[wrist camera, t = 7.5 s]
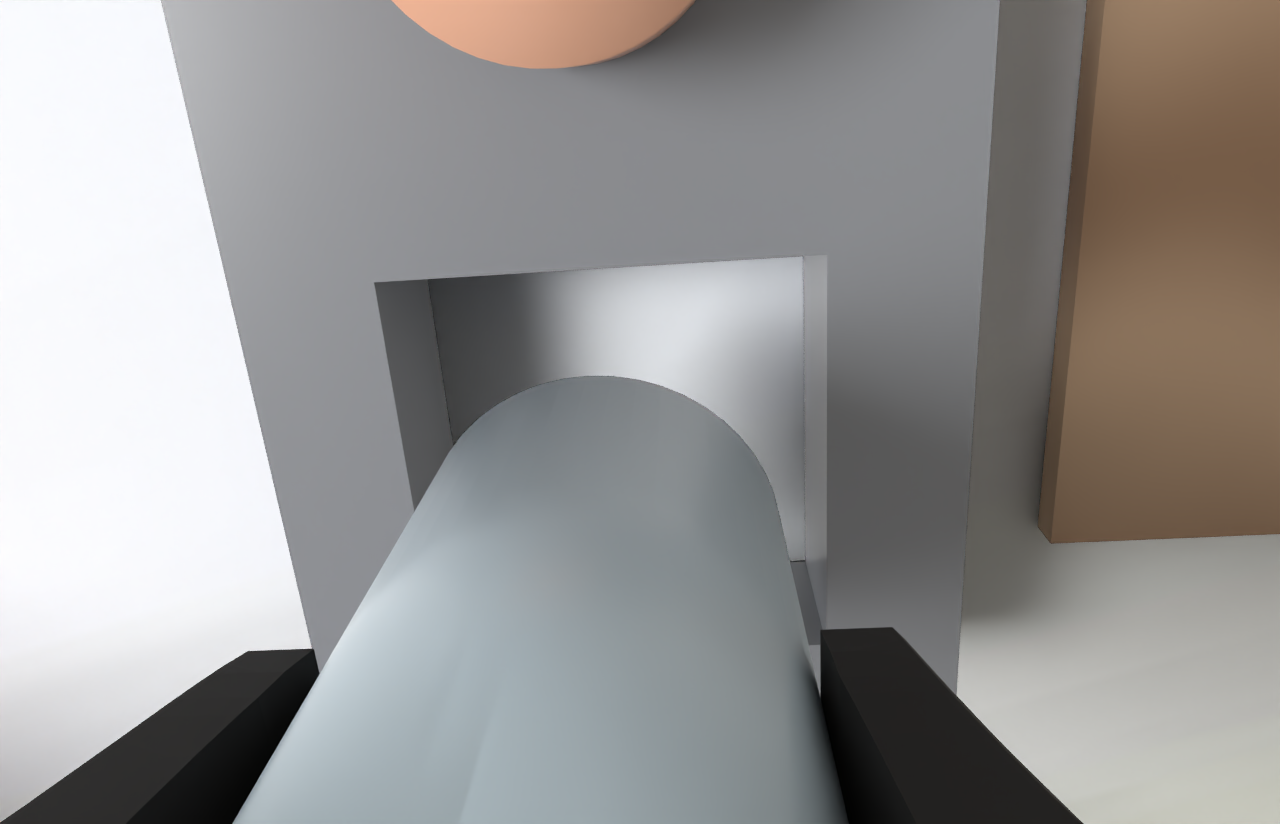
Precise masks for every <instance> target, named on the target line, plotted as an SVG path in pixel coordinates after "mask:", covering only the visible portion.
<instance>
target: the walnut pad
mask: <svg viewBox="0 0 1280 824" xmlns="http://www.w3.org/2000/svg"><path fill="white" fill-rule="evenodd" d="M1038 528H1039V529H1040V530H1041V531H1042V533H1043V534H1044V535H1045V537H1046V538H1047V539H1048V541H1049V542H1050V543H1075V542H1099V541H1123V540H1146V539H1170V538H1194V537H1218V536H1242V535H1266V534H1280V0H1087V5H1086V16H1085V27H1084V37H1083V48H1082V59H1081V69H1080V80H1079V91H1078V101H1077V112H1076V123H1075V133H1074V144H1073V155H1072V166H1071V176H1070V187H1069V198H1068V208H1067V219H1066V230H1065V240H1064V251H1063V262H1062V272H1061V283H1060V294H1059V304H1058V315H1057V326H1056V336H1055V347H1054V358H1053V369H1052V379H1051V390H1050V401H1049V411H1048V422H1047V433H1046V443H1045V454H1044V465H1043V475H1042V486H1041V497H1040V507H1039V518H1038Z"/></svg>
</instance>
